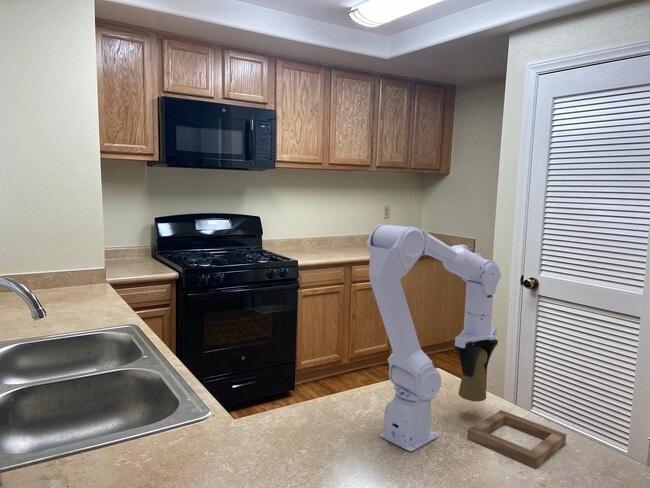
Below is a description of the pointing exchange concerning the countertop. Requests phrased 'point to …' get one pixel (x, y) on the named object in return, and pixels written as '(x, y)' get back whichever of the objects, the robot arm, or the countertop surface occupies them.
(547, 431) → the socket block
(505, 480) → the countertop surface
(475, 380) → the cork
